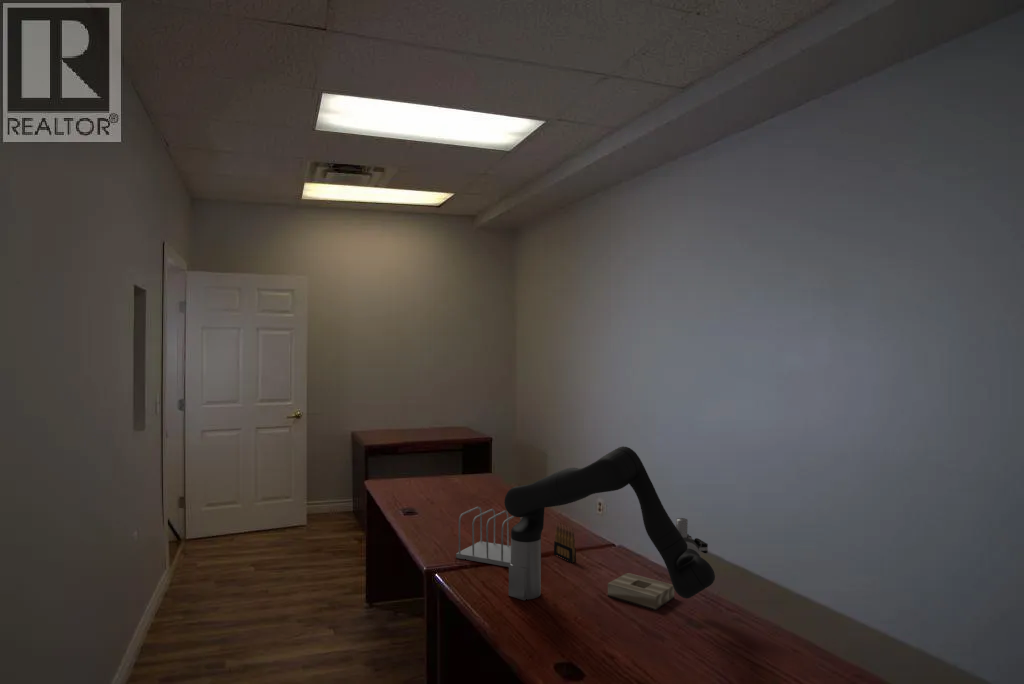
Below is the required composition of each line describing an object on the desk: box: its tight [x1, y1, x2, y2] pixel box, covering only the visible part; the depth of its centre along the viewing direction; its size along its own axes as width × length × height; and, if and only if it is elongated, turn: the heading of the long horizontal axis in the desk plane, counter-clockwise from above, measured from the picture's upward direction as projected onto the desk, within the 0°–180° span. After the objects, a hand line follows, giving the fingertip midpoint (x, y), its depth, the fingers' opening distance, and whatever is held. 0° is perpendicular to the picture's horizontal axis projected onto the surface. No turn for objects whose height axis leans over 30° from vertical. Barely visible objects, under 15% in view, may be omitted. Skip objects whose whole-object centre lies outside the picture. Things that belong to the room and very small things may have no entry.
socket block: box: [607, 572, 675, 611], centre depth 197 cm, size 12×16×4 cm
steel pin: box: [675, 517, 689, 538], centre depth 190 cm, size 3×3×15 cm
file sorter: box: [455, 506, 523, 568], centre depth 234 cm, size 25×17×16 cm
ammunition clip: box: [553, 521, 577, 564], centre depth 232 cm, size 11×2×12 cm, turn 33°
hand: (680, 537), depth 193 cm, fingers closed on steel pin, 3 cm apart
